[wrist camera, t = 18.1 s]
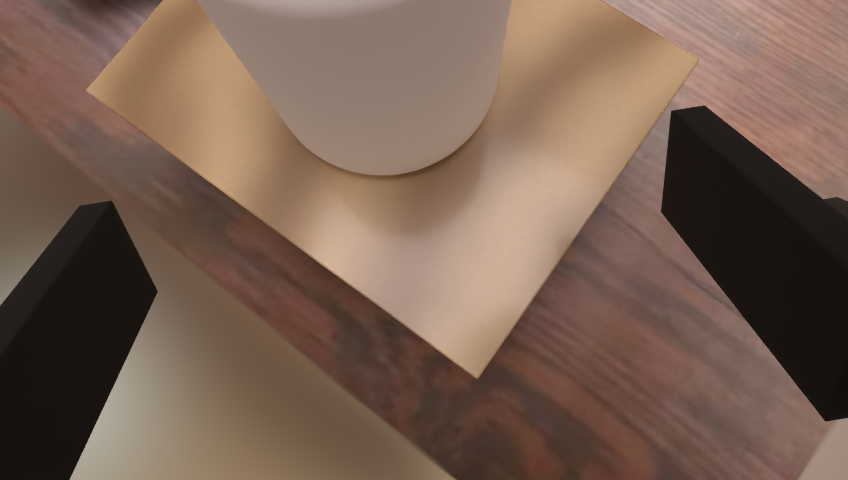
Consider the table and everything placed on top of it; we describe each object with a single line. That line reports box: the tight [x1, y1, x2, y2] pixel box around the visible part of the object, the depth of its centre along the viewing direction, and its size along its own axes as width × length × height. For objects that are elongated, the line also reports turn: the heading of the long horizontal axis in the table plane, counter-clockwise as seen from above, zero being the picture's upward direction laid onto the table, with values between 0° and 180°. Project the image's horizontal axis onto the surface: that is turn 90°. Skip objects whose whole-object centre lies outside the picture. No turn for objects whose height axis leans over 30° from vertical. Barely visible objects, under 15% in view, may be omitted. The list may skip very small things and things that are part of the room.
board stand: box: [86, 0, 699, 379], centre depth 27 cm, size 18×14×10 cm
